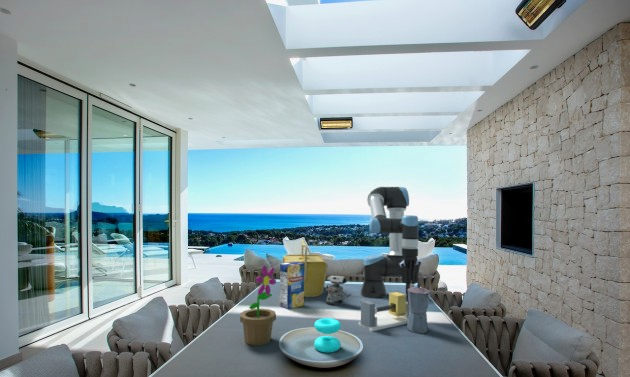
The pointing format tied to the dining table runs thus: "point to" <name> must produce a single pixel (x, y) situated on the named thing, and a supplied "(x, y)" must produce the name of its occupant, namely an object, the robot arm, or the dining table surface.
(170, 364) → the dining table surface
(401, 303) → the yellow block on rod
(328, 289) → the figurine
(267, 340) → the flowerpot
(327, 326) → the donuts
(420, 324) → the moka pot
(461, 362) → the dining table surface
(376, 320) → the linear slide rail
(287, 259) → the picnic basket
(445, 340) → the dining table surface
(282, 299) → the beverage box
